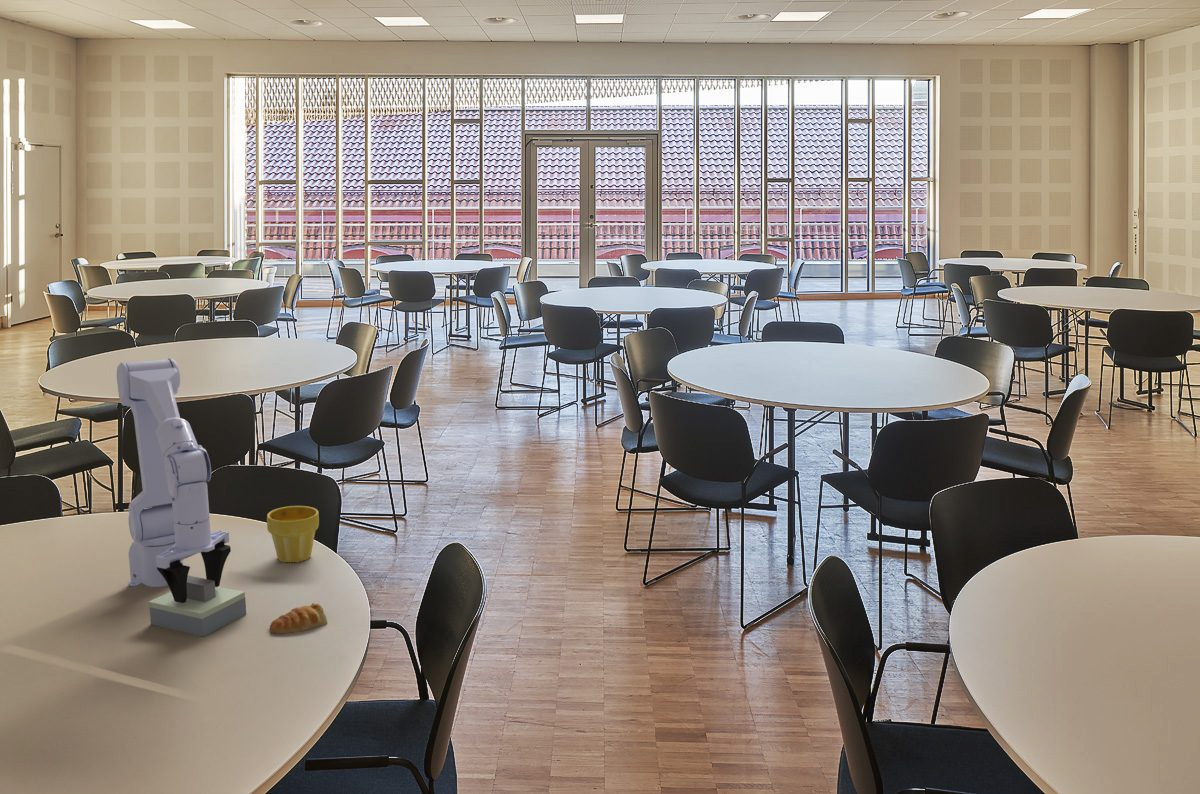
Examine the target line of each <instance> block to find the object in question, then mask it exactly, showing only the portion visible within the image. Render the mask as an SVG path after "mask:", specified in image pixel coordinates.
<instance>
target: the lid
mask: <svg viewBox="0 0 1200 794" xmlns="http://www.w3.org/2000/svg"><path fill="white" fill-rule="evenodd" d="M245 595H246V594H245V591H242V590H236V589H231V588H227V587H222V586H218V587H215V581H213V580H208V579H206V578H203V577H198V576H194V575H193V576H192V575H188V577H187V600H186V602H185V603H180V602H175V601H174V598H173V595H172V593H171V591H169V592H167V593H165V594H163V595H160V596H158V597H156V598H154V599H151V600H150V601H148V608H149V607H151V608H156V609H160V610H164V611H169V612H173V613H178V614H182V615H186V616H191V617H195V618H200V619H203V618H205V617H207V616H209V615H211V614H213V613H215V612H217V611H219V610H221V609H223V608H225V607H227V606H229V605H231V604H233V603H235V602H237V601H239V600H241V599H243V598H245V599H246V596H245Z"/></svg>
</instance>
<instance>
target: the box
mask: <svg viewBox="0 0 1200 794" xmlns="http://www.w3.org/2000/svg"><path fill="white" fill-rule="evenodd" d="M246 604H247V602H246V597H245V598H243V599H241V600H239V601H237V602H235V603H233V604H231V605H229V606H227V607H225V608H223V609H221V610H219V611H217V612H215V613H213V614H211V615H209V616H207V617H205V618H203V619H200V618H195V617H191V616H186V615H182V614H178V613H173V612H169V611H164V610H160V609H156V608H151V607H149V606H148V608H149V618H150V625H152V626H156V627H161V628H164V629H169V630H173V631H176V632H177V631H178V632H180V633H181V632H182V633H185V634H191V635H194V636H199V637H203V638H204V637H206V636H208V635H210V634H211V633H213V632H217V631H218V630H219V629H221V628H223V627H226V626H227V625H229V624H231V623H234V622H235V621H237V620H239V619H240V618H242V617H244V616H246V615H247V605H246Z"/></svg>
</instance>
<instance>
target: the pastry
mask: <svg viewBox="0 0 1200 794" xmlns="http://www.w3.org/2000/svg"><path fill="white" fill-rule="evenodd" d="M326 615H327V614H326V613H325V611H324V607H322V605H321V604H319V603H312V604H310V605H305V606H304V605H303V606H299V607H294V608H293V609H291V610H290V611H288V612H286V613H285V614H282V615H280V616H279V617H278V618H276V619H274V620H273V621H272V622H271V623H270V625H269V632H271V633H273V634H278V635H283V634H291V633H292V634H293V633H298V632H304V631H308V630H310V629H314V628H317V627H322V626H327V625H328V618H327V616H326Z"/></svg>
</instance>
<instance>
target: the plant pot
mask: <svg viewBox="0 0 1200 794" xmlns="http://www.w3.org/2000/svg"><path fill="white" fill-rule="evenodd" d="M319 526H320V516H319V510H318V509H317V508H315V507H311V506H306V505H289V506H288V505H287V506H284V507H279V508H275V509H272V510H271V511H269V512H267V515H266V527H267V531H268V533H269V534H271V537H272V541H273V545H274V549H275V553H276V557H277V559H278V561H279V562H282V563H285V562H288V563H287V564H292V563H291V562H296V563H299V562H298V561H302V562H304V561H303V560H305V561H307V560H309V559H310V558H311V557H312V552H313V547H314V540H315V535H316V531H317V530H318V529H319ZM310 556H311V557H310ZM309 557H310V558H309ZM308 558H309V559H308ZM306 559H307V560H306ZM289 562H290V563H289Z"/></svg>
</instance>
